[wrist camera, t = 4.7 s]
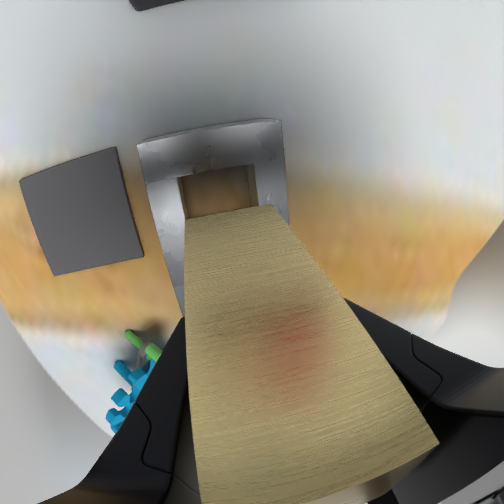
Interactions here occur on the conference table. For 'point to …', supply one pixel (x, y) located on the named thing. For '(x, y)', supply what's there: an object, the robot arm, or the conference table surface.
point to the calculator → (150, 3)
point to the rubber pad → (82, 213)
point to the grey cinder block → (202, 160)
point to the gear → (132, 379)
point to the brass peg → (286, 374)
